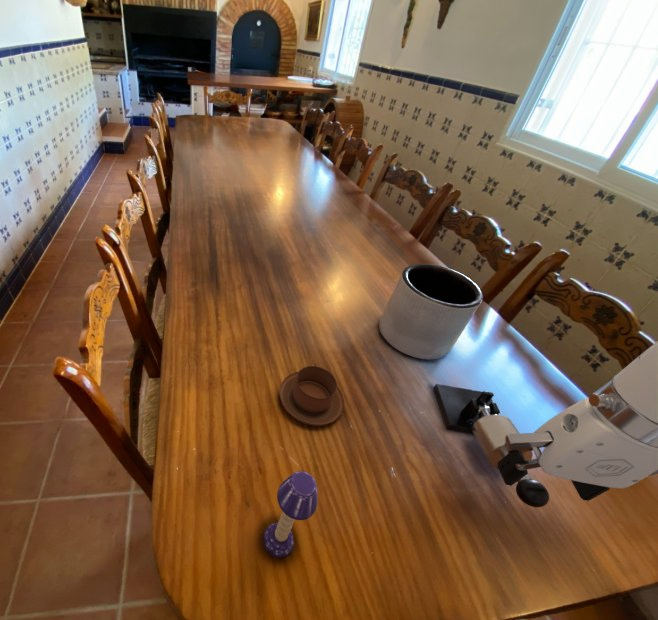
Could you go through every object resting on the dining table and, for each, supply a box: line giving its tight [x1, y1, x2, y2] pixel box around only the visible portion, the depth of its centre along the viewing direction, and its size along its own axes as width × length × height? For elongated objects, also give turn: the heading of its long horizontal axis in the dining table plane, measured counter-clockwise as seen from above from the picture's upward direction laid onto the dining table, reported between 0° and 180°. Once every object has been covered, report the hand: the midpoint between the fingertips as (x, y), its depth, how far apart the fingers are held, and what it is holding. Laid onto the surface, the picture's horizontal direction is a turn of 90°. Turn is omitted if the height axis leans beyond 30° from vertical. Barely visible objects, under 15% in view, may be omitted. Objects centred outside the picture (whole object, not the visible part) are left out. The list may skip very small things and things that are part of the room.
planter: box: [378, 263, 484, 360], centre depth 79 cm, size 16×16×16 cm
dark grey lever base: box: [433, 383, 501, 435], centre depth 66 cm, size 10×10×7 cm
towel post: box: [472, 405, 550, 508], centre depth 57 cm, size 6×6×19 cm
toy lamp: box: [262, 470, 318, 559], centre depth 44 cm, size 5×5×17 cm
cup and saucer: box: [279, 362, 345, 427], centre depth 66 cm, size 12×12×6 cm
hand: (540, 481), depth 49 cm, fingers open, 9 cm apart
